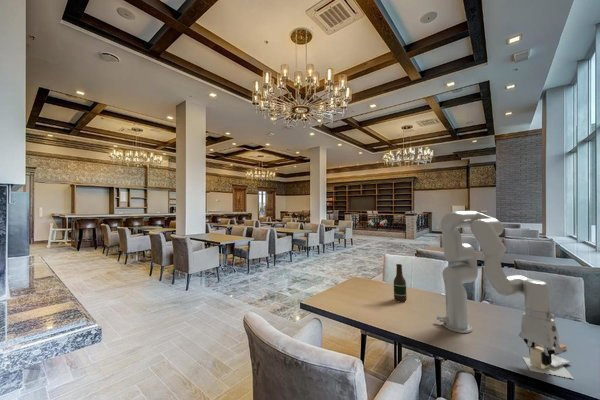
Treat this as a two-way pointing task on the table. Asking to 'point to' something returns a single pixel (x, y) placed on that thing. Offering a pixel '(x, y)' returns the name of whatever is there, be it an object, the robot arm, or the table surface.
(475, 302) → the table surface
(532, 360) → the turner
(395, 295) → the beer bottle
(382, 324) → the table surface
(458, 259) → the robot arm
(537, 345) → the tile
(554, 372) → the mat
